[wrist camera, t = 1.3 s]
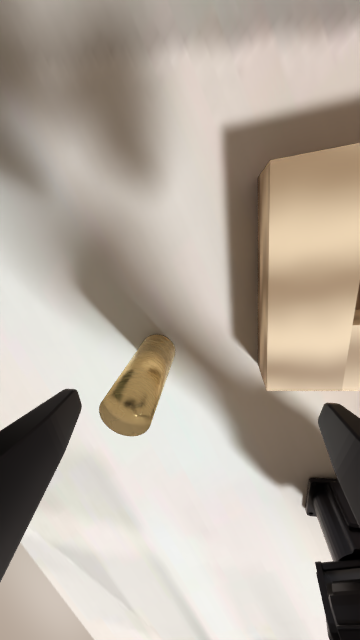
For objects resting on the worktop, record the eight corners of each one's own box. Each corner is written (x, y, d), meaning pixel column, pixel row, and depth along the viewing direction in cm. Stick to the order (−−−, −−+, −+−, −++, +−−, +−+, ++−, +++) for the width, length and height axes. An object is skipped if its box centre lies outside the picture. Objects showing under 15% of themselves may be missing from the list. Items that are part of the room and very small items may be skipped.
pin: (177, 364, 23) (155, 437, 14) (145, 365, 23) (106, 435, 15) (172, 333, 22) (145, 394, 13) (138, 335, 22) (93, 393, 14)
